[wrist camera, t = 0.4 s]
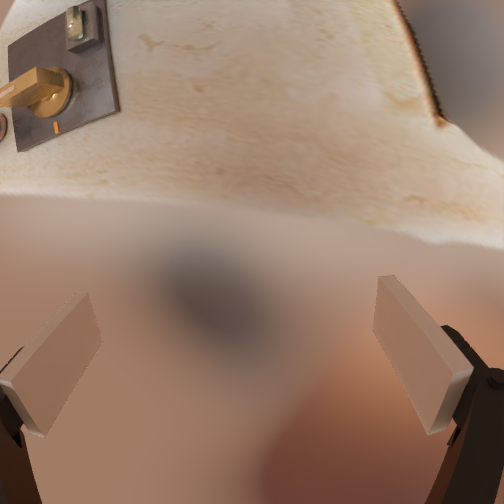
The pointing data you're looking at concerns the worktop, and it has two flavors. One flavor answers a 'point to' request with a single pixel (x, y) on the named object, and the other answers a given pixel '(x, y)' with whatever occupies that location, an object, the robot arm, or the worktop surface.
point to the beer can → (2, 126)
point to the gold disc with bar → (38, 91)
